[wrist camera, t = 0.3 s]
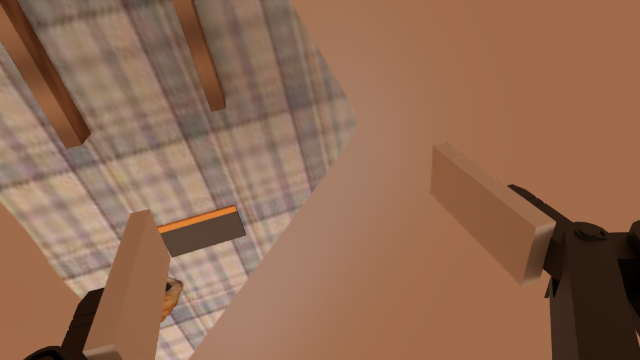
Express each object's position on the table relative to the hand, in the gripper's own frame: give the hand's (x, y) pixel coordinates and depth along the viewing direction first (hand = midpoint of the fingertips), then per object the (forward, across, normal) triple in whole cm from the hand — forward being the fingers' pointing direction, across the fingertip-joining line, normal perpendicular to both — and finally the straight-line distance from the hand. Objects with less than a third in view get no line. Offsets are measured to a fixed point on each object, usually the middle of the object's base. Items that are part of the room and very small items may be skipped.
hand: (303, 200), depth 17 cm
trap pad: (+27, -10, -19) cm, 35 cm away
